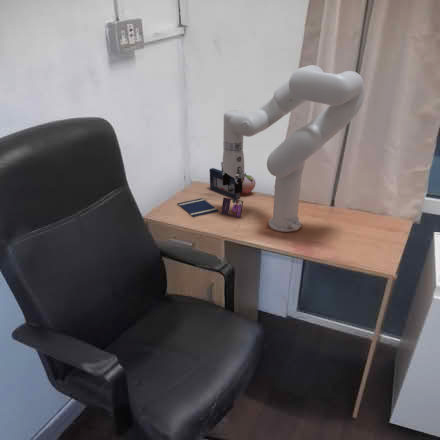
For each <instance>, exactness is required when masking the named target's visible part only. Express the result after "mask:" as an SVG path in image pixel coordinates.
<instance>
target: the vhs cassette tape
mask: <svg viewBox="0 0 440 440" xmlns="http://www.w3.org/2000/svg"><path fill="white" fill-rule="evenodd" d="M223 176H224V175H222V169H221V170H220V169H218V168H215V167H211V168H209V189H210V191H213V192H215V193H218V194H220V195H223V196H225V197H227V198H230V199H235V200H240V198H241V193H234V191H235V183H236V182H235V179H234V178H233V177H231V176H230V184H229V185H225V186H223ZM238 179H239V178H237V180H238Z"/></svg>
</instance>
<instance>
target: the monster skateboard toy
mask: <svg viewBox="0 0 440 440" xmlns="http://www.w3.org/2000/svg"><path fill="white" fill-rule="evenodd" d="M231 202H232V203H233V204H232V208H231ZM243 206H244V201H243V200H240V199H236V200H235V199H233V198H230V197H223V198H222V205H221V211H220V214H222V215H226V216H231V217H235V218H242V212H243ZM230 208H231V209H230ZM230 211H231V212H233V213H237V214H236V215H235V214H231V213H230Z"/></svg>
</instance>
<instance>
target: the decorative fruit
mask: <svg viewBox="0 0 440 440" xmlns="http://www.w3.org/2000/svg"><path fill="white" fill-rule="evenodd" d="M244 174H245V178H244V181H243V183H242V192H241V193H243V194H245V195H246V194H249V193H251V192H252V191H253V190H254V189H255V187H256V179H255V178H254V177H253V176H252V175H249V174H247V172H244Z"/></svg>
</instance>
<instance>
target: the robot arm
mask: <svg viewBox="0 0 440 440" xmlns="http://www.w3.org/2000/svg"><path fill="white" fill-rule="evenodd" d="M364 83H365V82H364V80H363V78H362V75H360V74H359V73H358V72H356V71H354V70H345V71H342V72H339V73H330V72H324V70H323V69H322V68H321V67H320V66H318V65H316V64H309V65H306V66H302V67H300V68H297V69H296V70H295V71H294V72H293V73H292V74H291V75H290V78H289V79H288V80H287V81H285V82H284V83H283V84H282V85H281V86H279V87H278V88H276V90H274V92H273V97H272V98H270V99H269V101H267V102H266V103H264V104H263V105H262V106H261V107H259V108H257V109H256V110H254V111H251V112H249V113H246V114H244V112H243V111H242V110H236V109H234V110H233V109H231V110H227V111H225V112H224V113H223V143H222V145H223V149H222V150H223V151H222V161H221V162H220V168H221V171H222V175H224V176H223V186H225V185H229V184H230V176H231V177H233V178H234V179H235V182H236V183H235V191H234V193H240V194H241V193H243V192H242V183H243V181H244V178H245V153H244V137H246V138H247V137H248V138H251V137H253V136H255V135H257V134H259V133H261V132H263V131H266V130H267V129H268V128H270V127H271V126H273V125H274V124H275V123H277V122H279V120H281V119H282V118H283V117H285V116H287V115H289V113H291V112H292V111H293V110H294V109H296V108H297V107H299V106H300V105H302V104H304V102H306V101H308V102H313V103H318V104H321V105H326V106H327V107H326V108H324V109H323V111H321V112H320V113H319V114H318V115H317V116H316V117H315V118H314V119H313V120H311V121H310V122H308V123H307V124H305V125H303V126H301V127H299V128H298V129H296V130H295V131H293V132H292V133H291V134H289V136H287V137H286V139H285V140H283V141H282V142H281V143H280V144H279V145H278V146H277V147H275V149H274V150H272V151H271V152H270V153H269V155H268V157H267V160H266V168H267V170H268V172H269V174H271V176H273V177H275V179H274V181H275V182H274V194H273V195H274V197H273V211H272V218H270V219H269V220H268V227H269V228H270V229H272V230H274V231H278V232H281V233H287V232H288V233H290V232H295V231H298V230H299V229H300V228H301V227H302V225H303V224H302V223H301V221H300V217H299V205H300V198H301V197H300V196H301V188H302V187H301V185H302V178H303V173H304V169H305V168H304V167H305V162H306V161H307V160H308V159H309V158H310V157H312V156H313V155H314V154H316V153H317V152H318V151H320V150H321V149H322V148H323V147H324V145H326V144H327V143H328V142H329V141H330V140H331V139H333V138H334V137H335V136H337V134H338V133H339V132H340V131H342V130H343V129H344V128H346V126H347V125H349V123H351V121H352V120H353V119H354V118H355V117H356V116H357V114H358V113H359V111H360V109H361V108H362V104H363V102H364V97H365V84H364ZM237 178H239V179H238V180H237Z"/></svg>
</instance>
